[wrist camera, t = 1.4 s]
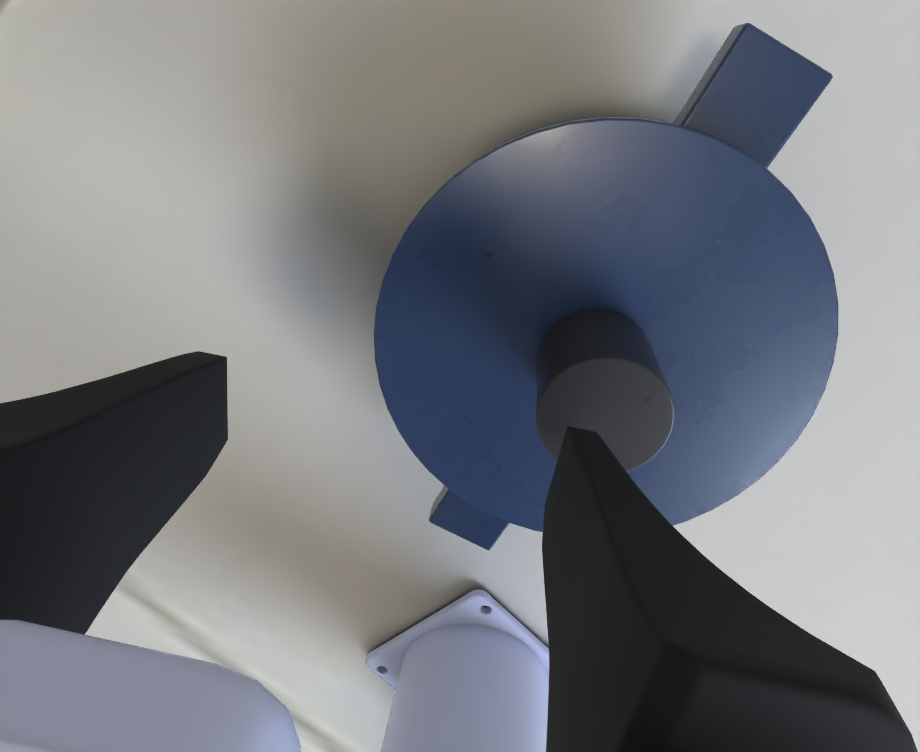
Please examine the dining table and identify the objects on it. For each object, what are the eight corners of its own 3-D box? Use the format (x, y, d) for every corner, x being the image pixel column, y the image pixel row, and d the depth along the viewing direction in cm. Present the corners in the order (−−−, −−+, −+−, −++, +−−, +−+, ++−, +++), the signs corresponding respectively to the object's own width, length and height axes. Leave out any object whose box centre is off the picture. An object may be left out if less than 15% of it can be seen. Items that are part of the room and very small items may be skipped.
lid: (928, 264, 15) (1056, 324, 11) (646, 570, 20) (671, 680, 17) (508, 15, 14) (496, -9, 10) (323, 409, 19) (270, 490, 15)
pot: (887, 150, 18) (1010, 174, 14) (588, 519, 26) (600, 620, 21) (567, -45, 17) (578, -93, 12) (350, 399, 24) (303, 477, 20)
